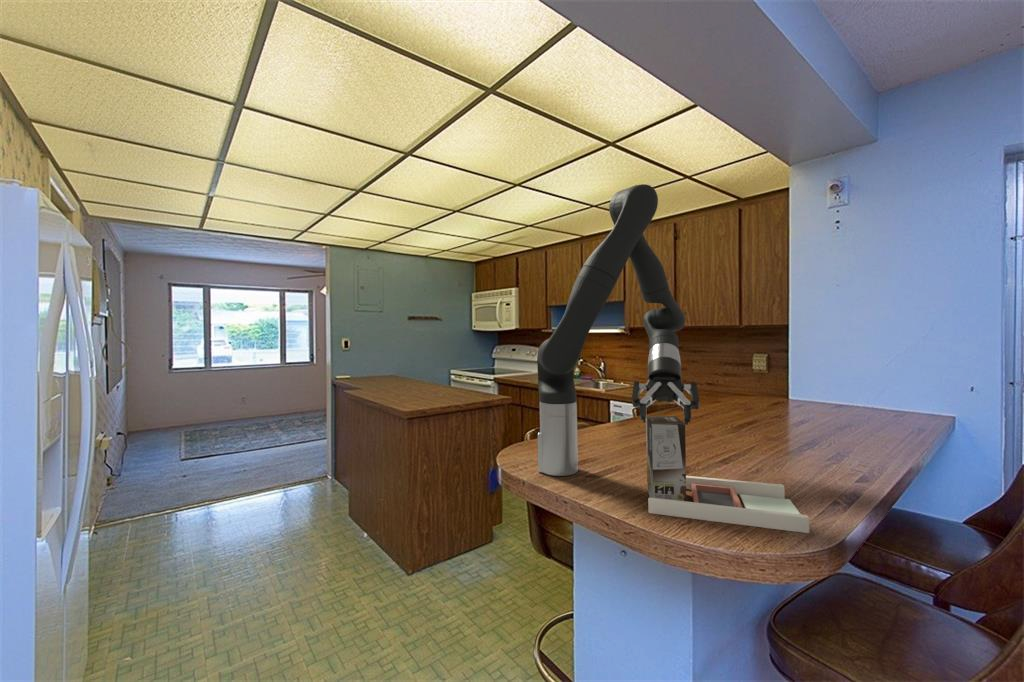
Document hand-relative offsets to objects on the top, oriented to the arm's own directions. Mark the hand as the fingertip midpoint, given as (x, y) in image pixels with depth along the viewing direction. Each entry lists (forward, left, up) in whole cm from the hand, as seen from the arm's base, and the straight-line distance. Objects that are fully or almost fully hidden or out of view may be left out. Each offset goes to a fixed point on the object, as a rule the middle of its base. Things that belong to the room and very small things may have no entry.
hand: (665, 421), depth 89 cm
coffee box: (0, -7, -14) cm, 16 cm away
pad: (+18, -7, -14) cm, 24 cm away
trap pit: (+9, -7, -14) cm, 18 cm away
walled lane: (+9, -7, -14) cm, 19 cm away
